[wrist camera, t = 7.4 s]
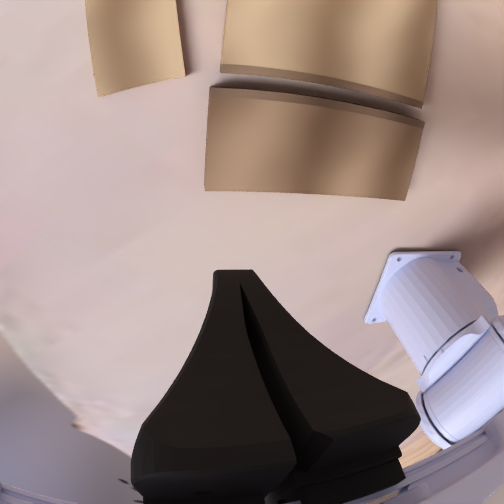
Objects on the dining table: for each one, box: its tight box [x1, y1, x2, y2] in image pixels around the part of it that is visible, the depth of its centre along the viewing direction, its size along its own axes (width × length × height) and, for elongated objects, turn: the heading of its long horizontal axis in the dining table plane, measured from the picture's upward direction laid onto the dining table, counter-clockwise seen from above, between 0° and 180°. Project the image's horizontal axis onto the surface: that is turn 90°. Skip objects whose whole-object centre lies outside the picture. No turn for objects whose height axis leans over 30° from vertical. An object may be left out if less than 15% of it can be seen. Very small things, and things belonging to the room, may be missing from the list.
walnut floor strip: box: [204, 87, 425, 201], centre depth 18 cm, size 14×6×1 cm, turn 85°
